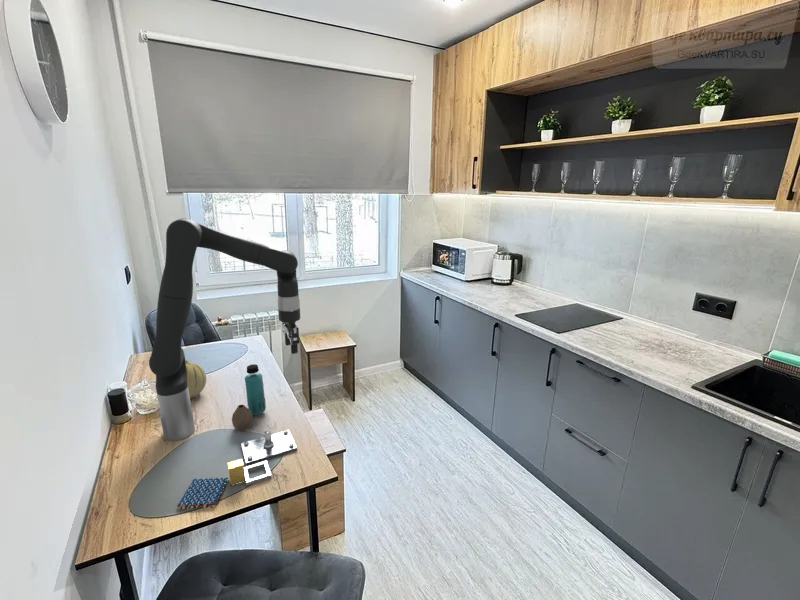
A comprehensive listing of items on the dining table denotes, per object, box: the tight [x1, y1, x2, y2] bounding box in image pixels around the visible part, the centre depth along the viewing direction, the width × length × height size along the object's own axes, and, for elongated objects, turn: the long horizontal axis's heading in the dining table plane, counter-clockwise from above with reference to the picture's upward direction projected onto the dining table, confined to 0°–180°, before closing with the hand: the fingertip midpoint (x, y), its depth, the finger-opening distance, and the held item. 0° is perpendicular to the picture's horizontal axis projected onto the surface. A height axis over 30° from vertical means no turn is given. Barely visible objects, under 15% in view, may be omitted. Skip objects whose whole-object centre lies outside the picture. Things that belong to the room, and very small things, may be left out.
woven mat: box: [176, 476, 230, 510], centre depth 108 cm, size 10×11×2 cm
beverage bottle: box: [244, 364, 267, 415], centre depth 144 cm, size 6×7×20 cm
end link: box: [227, 458, 272, 486], centre depth 114 cm, size 11×7×6 cm, turn 119°
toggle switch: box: [240, 429, 298, 466], centre depth 127 cm, size 16×11×6 cm
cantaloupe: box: [185, 359, 207, 399], centre depth 156 cm, size 15×15×15 cm
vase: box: [231, 404, 254, 432], centre depth 137 cm, size 7×7×9 cm
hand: (291, 349), depth 141 cm, fingers open, 8 cm apart
